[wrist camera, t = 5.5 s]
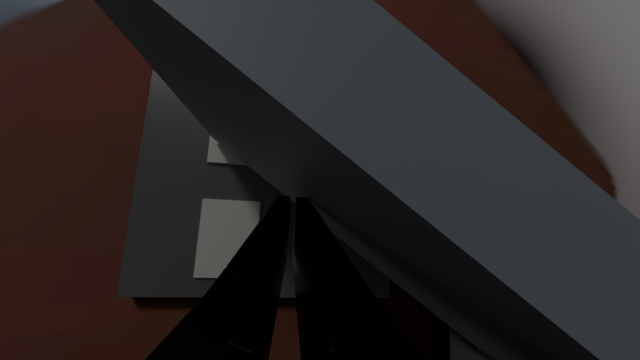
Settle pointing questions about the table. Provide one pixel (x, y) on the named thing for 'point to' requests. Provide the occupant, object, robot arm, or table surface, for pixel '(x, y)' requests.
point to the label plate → (197, 209)
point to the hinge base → (454, 344)
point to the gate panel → (406, 167)
